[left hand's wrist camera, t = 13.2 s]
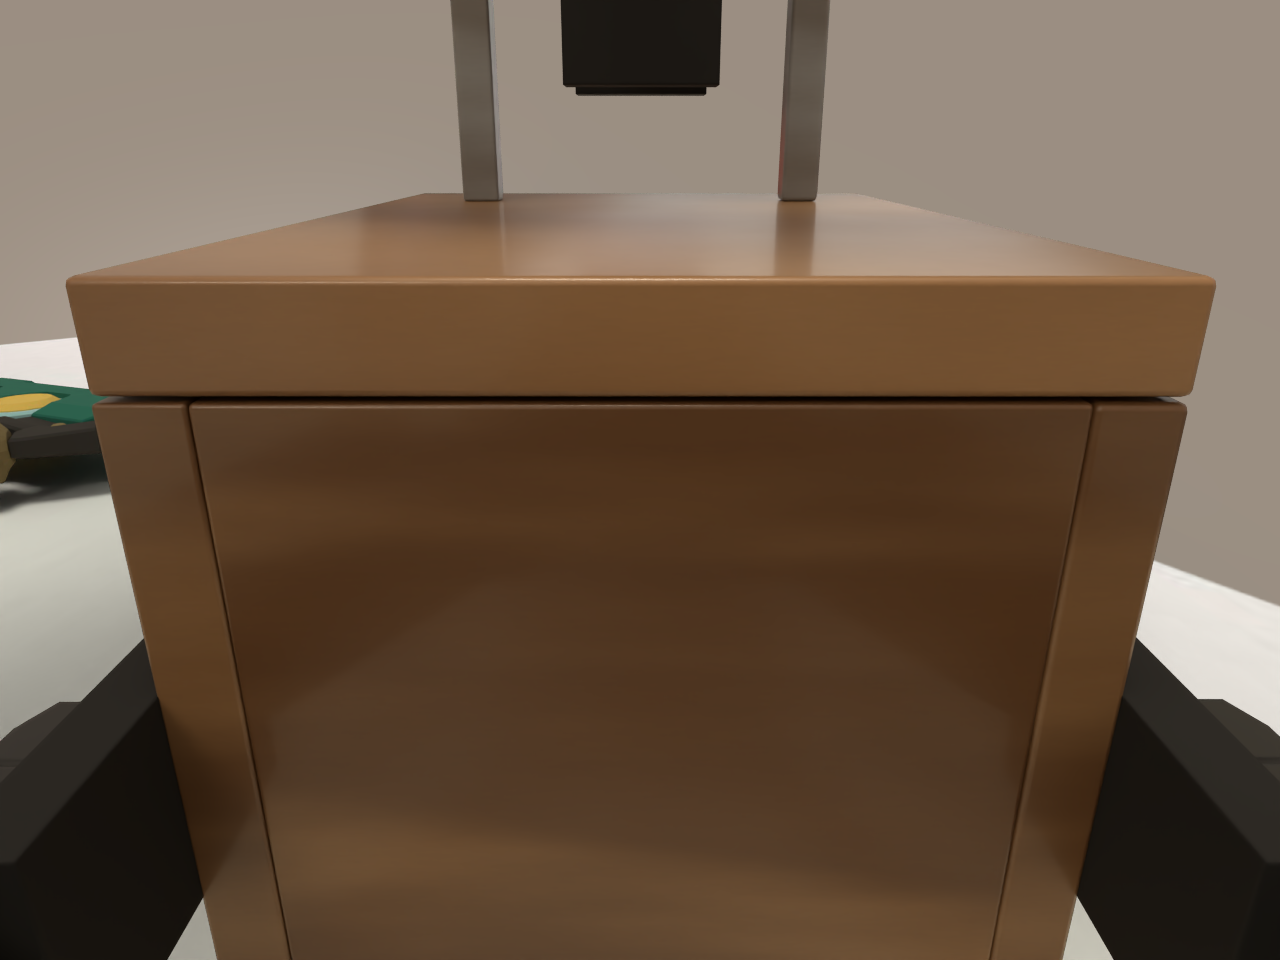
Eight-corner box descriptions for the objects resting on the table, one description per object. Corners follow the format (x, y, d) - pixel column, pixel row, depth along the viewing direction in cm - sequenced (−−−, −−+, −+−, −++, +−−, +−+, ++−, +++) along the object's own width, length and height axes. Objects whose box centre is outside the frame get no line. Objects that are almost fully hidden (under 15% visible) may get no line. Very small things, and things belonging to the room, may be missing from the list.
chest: (455, 663, 24) (419, 246, 20) (824, 663, 24) (860, 246, 20) (269, 1194, 12) (87, 404, 8) (1011, 1194, 12) (1193, 404, 8)
